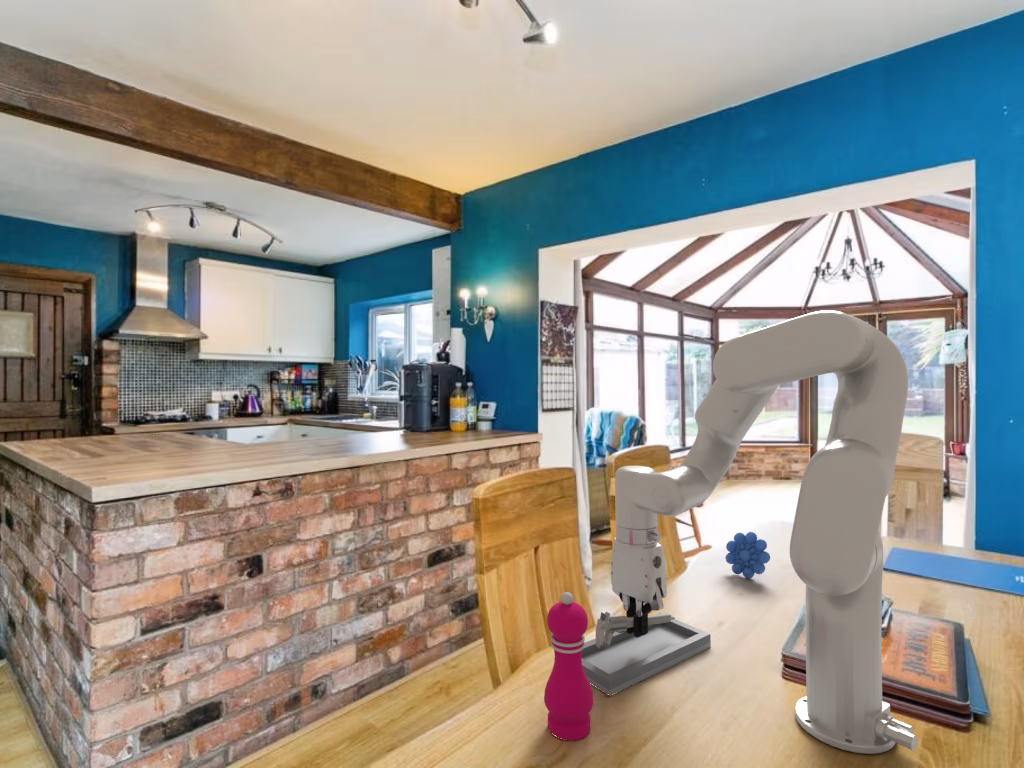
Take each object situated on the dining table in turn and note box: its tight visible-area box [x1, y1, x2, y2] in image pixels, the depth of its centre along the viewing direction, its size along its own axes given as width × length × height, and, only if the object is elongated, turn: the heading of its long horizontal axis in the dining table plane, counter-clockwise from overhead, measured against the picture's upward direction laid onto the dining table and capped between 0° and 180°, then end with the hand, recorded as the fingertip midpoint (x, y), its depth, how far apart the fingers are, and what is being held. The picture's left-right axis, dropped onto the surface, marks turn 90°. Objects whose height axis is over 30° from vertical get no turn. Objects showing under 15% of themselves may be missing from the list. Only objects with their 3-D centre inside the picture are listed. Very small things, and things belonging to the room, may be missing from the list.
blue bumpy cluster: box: [725, 531, 771, 579], centre depth 141 cm, size 12×7×12 cm, turn 39°
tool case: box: [581, 612, 712, 697], centre depth 102 cm, size 12×27×2 cm, turn 126°
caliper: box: [595, 611, 676, 649], centre depth 102 cm, size 20×1×6 cm, turn 126°
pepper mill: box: [543, 591, 594, 741], centre depth 82 cm, size 7×7×20 cm
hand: (637, 632), depth 102 cm, fingers closed on caliper, 1 cm apart
